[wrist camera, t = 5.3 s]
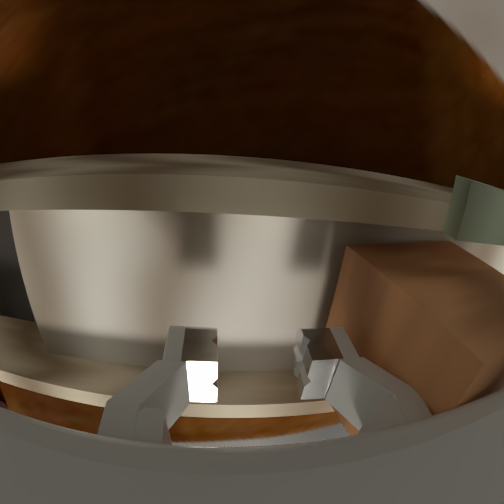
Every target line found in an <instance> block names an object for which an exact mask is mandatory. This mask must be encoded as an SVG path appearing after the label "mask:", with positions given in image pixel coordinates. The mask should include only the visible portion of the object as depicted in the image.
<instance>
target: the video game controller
mask: <svg viewBox="0 0 504 504" xmlns="http://www.w3.org/2000/svg"><path fill="white" fill-rule="evenodd" d="M0 407H2V408H4V409H7V407H6V405H5V403H4V402H2V401H1V400H0Z"/></svg>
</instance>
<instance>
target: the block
mask: <svg viewBox="0 0 504 504" xmlns="http://www.w3.org/2000/svg"><path fill="white" fill-rule="evenodd" d="M337 326H342V327H343V328H344V329H345V331H346V333H347V335H348V337H349V338H350V340H351V342H352V344H353V346H354V348H355V350H356V351H357V353H358V355H359V357H364V358H366V359H367V360H369V361H371V362H372V363H374V364H375V365H377V366H379V367H380V368H382V369H384V370H385V371H387V372H388V373H390V374H392V375H393V376H395V377H397V378H398V379H400V380H402V381H403V382H405V383H407V384H408V385H410V386H411V387H412V388H413V389H414V390H415V391H416V392H417V393H418V394H419V395H420V397H421V398H422V399H423V400H424V402H425V404H426V405H427V407H428V409H429V411H430V412H431V414H432V415H436V414H439V413H442V412H445V411H447V410H450V409H454V408H456V407H459V406H461V405H464V404H467V403H469V402H472V401H474V400H477V399H479V398H482V397H484V396H486V395H489V394H491V393H493V392H495V391H498V390H500V389H502V388H504V274H502V273H501V272H499V271H498V270H496V269H495V268H493V267H491V266H490V265H488V264H487V263H485V262H484V261H482V260H481V259H479V258H477V257H476V256H474V255H473V254H471V253H469V252H468V251H466V250H464V249H463V248H461V247H460V246H458V245H456V244H455V243H453V242H451V241H439V242H413V243H386V244H360V245H346V249H345V253H344V258H343V262H342V266H341V271H340V275H339V279H338V283H337V287H336V291H335V295H334V299H333V303H332V307H331V311H330V314H329V318H328V322H327V325H326V328H327V327H337ZM330 405H331V404H330ZM331 406H332V405H331ZM332 408H333V409H334V411H335V413H336V414H337V416H338V418H339V419H340V421H341V423H342V424H343V426H344V427H345V429H346V430H347V432H348V434H349V436H353V435H357V434H358V432H359V430H358V429H357V428H356V427H355V426H353V425H352V424H351V423H350V422H349V421H348V420H347V419H346V418H345V417H344V416H343V415H341V414H340V413H339V412H338V411H337V410H336V409H335V408H334V407H333V406H332Z"/></svg>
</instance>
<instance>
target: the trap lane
mask: <svg viewBox="0 0 504 504" xmlns="http://www.w3.org/2000/svg"><path fill="white" fill-rule="evenodd" d="M439 241H451V242H453V243H455V244H456V245H458V246H460V247H461V248H463V249H464V250H466V251H468V252H469V253H471V254H473V255H474V256H476V257H477V258H479V259H481V260H482V261H484V262H485V263H487V264H488V265H490V266H491V267H493V268H495V269H496V270H498V271H499V272H501V273H502V274H504V190H503V189H500V188H497V187H494V186H491V185H488V184H485V183H481V182H478V181H475V180H472V179H468V178H465V177H461V176H458V175H456V177H455V182H454V187H453V188H450V187H446V186H442V185H437V184H433V183H428V182H424V181H419V180H414V179H409V178H404V177H399V176H393V175H388V174H382V173H377V172H371V171H364V170H358V169H352V168H345V167H338V166H331V165H323V164H315V163H307V162H298V161H288V160H278V159H267V158H255V157H241V156H224V155H203V154H158V153H146V154H102V155H81V156H66V157H53V158H42V159H32V160H23V161H15V162H7V163H0V381H2V382H5V383H8V384H11V385H14V386H17V387H21V388H24V389H27V390H31V391H34V392H38V393H42V394H45V395H49V396H53V397H57V398H62V399H66V400H70V401H75V402H80V403H85V404H90V405H95V406H101V407H105V405H106V402H107V400H109V399H110V398H111V397H112V396H114V395H115V394H116V393H117V392H119V391H120V390H121V389H122V388H124V387H125V386H126V385H127V384H129V383H130V382H131V381H132V380H134V379H135V378H136V377H137V376H139V375H140V374H141V373H142V372H144V371H145V370H146V369H147V368H148V367H150V366H151V365H152V364H153V363H155V362H156V361H157V360H162V359H163V354H164V349H165V343H166V338H167V333H168V328H169V327H170V325H173V326H185V327H186V326H191V327H208V328H217V346H218V350H217V402H190V404H189V405H188V406H187V408H186V409H185V410H184V411H183V413H182V414H181V415H180V416H188V417H212V418H256V417H279V416H295V415H307V414H317V413H326V412H334V409H333V408H332V406H331V405H330V403H329V402H327V401H326V400H325V398H320V399H305V400H300V396H299V393H298V389H297V386H296V384H297V380H298V378H297V377H296V376H294V374H293V370H292V364H291V362H292V352H293V348H294V347H295V346H296V345H297V342H296V333H297V331H298V329H299V328H326V325H327V322H328V318H329V314H330V311H331V307H332V303H333V299H334V295H335V291H336V287H337V283H338V279H339V275H340V271H341V266H342V262H343V258H344V253H345V249H346V245H360V244H386V243H413V242H439Z"/></svg>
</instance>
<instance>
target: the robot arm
mask: <svg viewBox="0 0 504 504" xmlns="http://www.w3.org/2000/svg"><path fill="white" fill-rule="evenodd" d="M296 342H297V345H296V346H295V347H294V348H293V352H292V362H291V364H292V370H293V374H294V376H296V377H297V378H298V380H297V384H296V386H297V389H298V393H299V396H300V400H305V399H320V398H325V400H326V401H327V402H329V403H330V404H331V405H332V406H333V407H334V408H335V409H336V410H337V411H338V412H339V413H340V414H341V415H343V416H344V417H345V418H346V419H347V420H348V421H349V422H350V423H351V424H352V425H353V426H355V427H356V428H357V429H358V430H359V432H358V434H357V435H353V436H347V437H341V438H336V439H329V440H323V441H315V442H306V443H296V444H287V445H272V446H255V447H254V446H252V447H199V446H181V445H172V443H171V439H170V435H169V429H170V427H171V426H172V425H173V424H174V422H175V421H176V420H177V419H178V418H179V416H180V415H181V414H182V413H183V411H184V410H185V409H186V408H187V406H188V405H189V404H190V402H217V350H218V346H217V328H208V327H191V326H186V327H185V326H173V325H170V327H169V328H168V333H167V338H166V343H165V349H164V354H163V359H162V360H157V361H156V362H155V363H153V364H152V365H151V366H150V367H148V368H147V369H146V370H145V371H144V372H142V373H141V374H140V375H139V376H137V377H136V378H135V379H134V380H132V381H131V382H130V383H129V384H127V385H126V386H125V387H124V388H122V389H121V390H120V391H119V392H117V393H116V394H115V395H114V396H112V397H111V398H110V399H109V400H107V402H106V405H105V409H104V412H103V416H102V419H101V423H100V426H99V430H98V434H92V433H87V432H82V431H78V430H74V429H69V428H65V427H61V426H58V425H54V424H50V423H47V422H43V421H40V420H37V419H33V418H30V417H27V416H24V415H21V414H18V413H15V412H13V411H10V410H7V409H4V408H2V407H0V504H504V388H502V389H500V390H498V391H495V392H493V393H491V394H489V395H486V396H484V397H482V398H479V399H477V400H474V401H472V402H469V403H467V404H464V405H461V406H459V407H456V408H454V409H450V410H447V411H445V412H442V413H439V414H436V415H432V414H431V412H430V411H429V409H428V407H427V405H426V404H425V402H424V400H423V399H422V398H421V397H420V395H419V394H418V393H417V392H416V391H415V390H414V389H413V388H412V387H411V386H410V385H408V384H407V383H405V382H403V381H402V380H400V379H398V378H397V377H395V376H393V375H392V374H390V373H388V372H387V371H385V370H384V369H382V368H380V367H379V366H377V365H375V364H374V363H372V362H371V361H369V360H367V359H366V358H364V357H359V355H358V353H357V351H356V350H355V348H354V346H353V344H352V342H351V340H350V338H349V337H348V335H347V333H346V331H345V329H344V328H343V327H342V326H337V327H327V328H299V329H298V331H297V333H296Z"/></svg>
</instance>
